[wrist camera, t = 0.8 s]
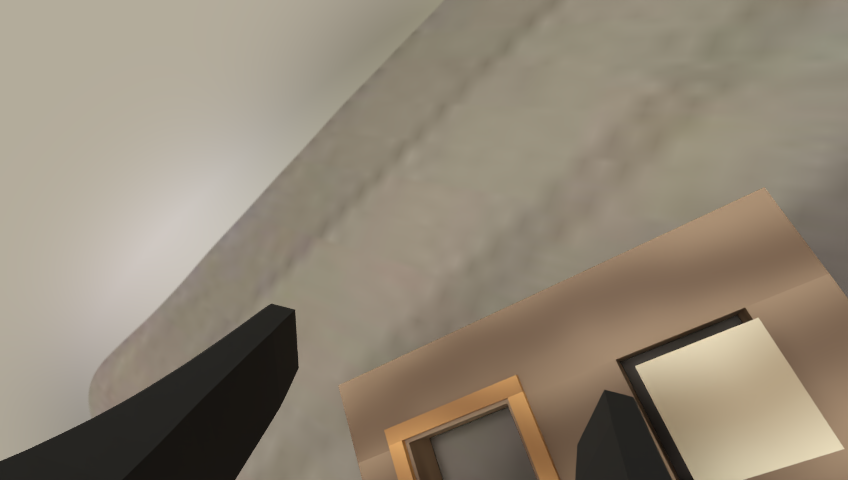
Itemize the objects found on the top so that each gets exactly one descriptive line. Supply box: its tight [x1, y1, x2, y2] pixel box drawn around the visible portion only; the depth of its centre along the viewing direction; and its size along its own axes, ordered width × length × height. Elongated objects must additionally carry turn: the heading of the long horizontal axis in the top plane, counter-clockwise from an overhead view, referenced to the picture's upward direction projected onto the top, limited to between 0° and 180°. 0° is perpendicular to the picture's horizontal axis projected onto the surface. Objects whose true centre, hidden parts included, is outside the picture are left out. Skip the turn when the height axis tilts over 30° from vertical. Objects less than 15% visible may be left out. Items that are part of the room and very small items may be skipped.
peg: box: [635, 318, 844, 480], centre depth 19 cm, size 4×4×8 cm
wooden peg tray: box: [338, 187, 848, 480], centre depth 22 cm, size 14×23×3 cm, turn 111°
